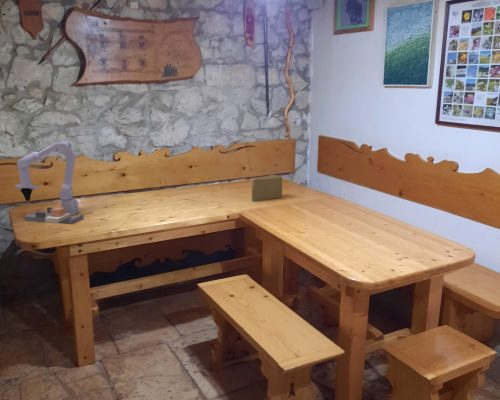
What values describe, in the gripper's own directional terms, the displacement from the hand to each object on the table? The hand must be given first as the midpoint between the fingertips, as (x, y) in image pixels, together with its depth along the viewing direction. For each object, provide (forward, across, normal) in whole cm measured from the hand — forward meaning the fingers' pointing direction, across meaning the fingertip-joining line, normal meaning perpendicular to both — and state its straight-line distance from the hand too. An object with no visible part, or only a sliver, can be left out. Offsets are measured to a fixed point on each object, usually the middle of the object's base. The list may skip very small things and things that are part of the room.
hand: (27, 200), depth 302 cm
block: (+7, -23, +3) cm, 24 cm away
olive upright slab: (+10, -129, -72) cm, 148 cm away
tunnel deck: (+9, -20, +4) cm, 22 cm away
